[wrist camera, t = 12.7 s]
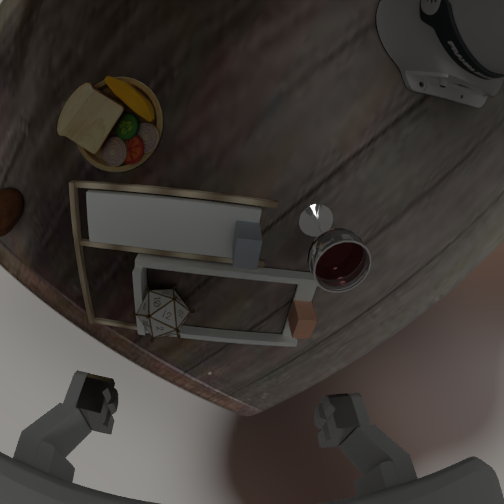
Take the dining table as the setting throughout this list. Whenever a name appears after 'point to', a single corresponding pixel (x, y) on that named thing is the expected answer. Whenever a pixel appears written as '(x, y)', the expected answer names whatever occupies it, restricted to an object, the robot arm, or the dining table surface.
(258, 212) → the inner strip
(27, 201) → the dining table surface
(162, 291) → the game die
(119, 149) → the toy sandwich meal
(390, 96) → the dining table surface
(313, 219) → the wineglass
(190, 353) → the dining table surface
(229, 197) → the lane rails
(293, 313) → the grey rectangular frame
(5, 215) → the wooden figurine
